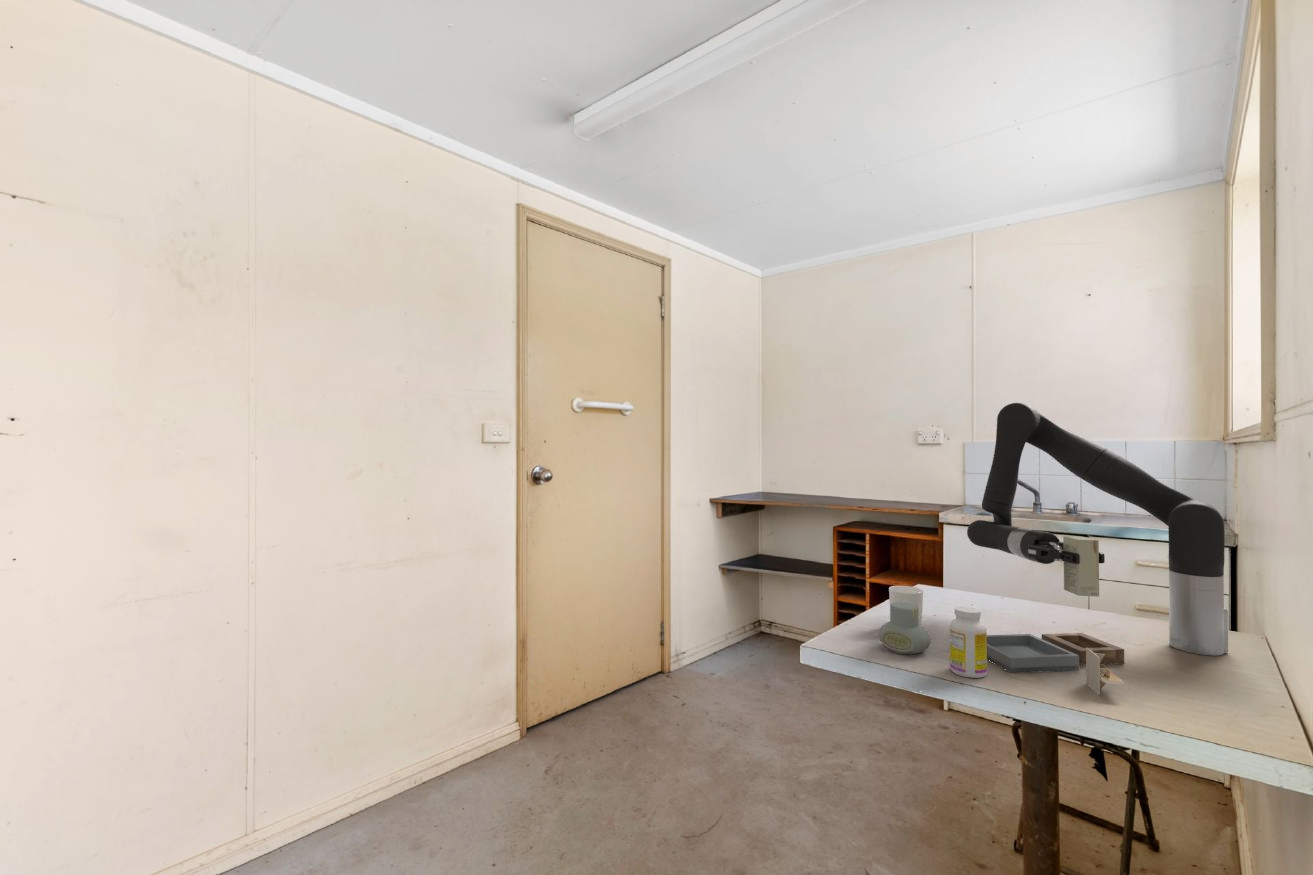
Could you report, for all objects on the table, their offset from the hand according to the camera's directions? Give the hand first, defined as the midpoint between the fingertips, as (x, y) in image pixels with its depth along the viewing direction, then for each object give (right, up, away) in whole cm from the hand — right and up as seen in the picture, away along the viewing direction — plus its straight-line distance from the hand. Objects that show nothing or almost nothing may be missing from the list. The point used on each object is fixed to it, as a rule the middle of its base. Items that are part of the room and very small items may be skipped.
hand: (1090, 558), depth 129 cm
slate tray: (-15, -22, 0) cm, 26 cm away
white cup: (-31, -22, +20) cm, 43 cm away
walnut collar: (0, -22, +2) cm, 22 cm away
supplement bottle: (-30, -22, -8) cm, 38 cm away
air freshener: (-38, -22, +6) cm, 44 cm away
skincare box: (0, -8, +3) cm, 9 cm away
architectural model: (-10, -22, -16) cm, 29 cm away
